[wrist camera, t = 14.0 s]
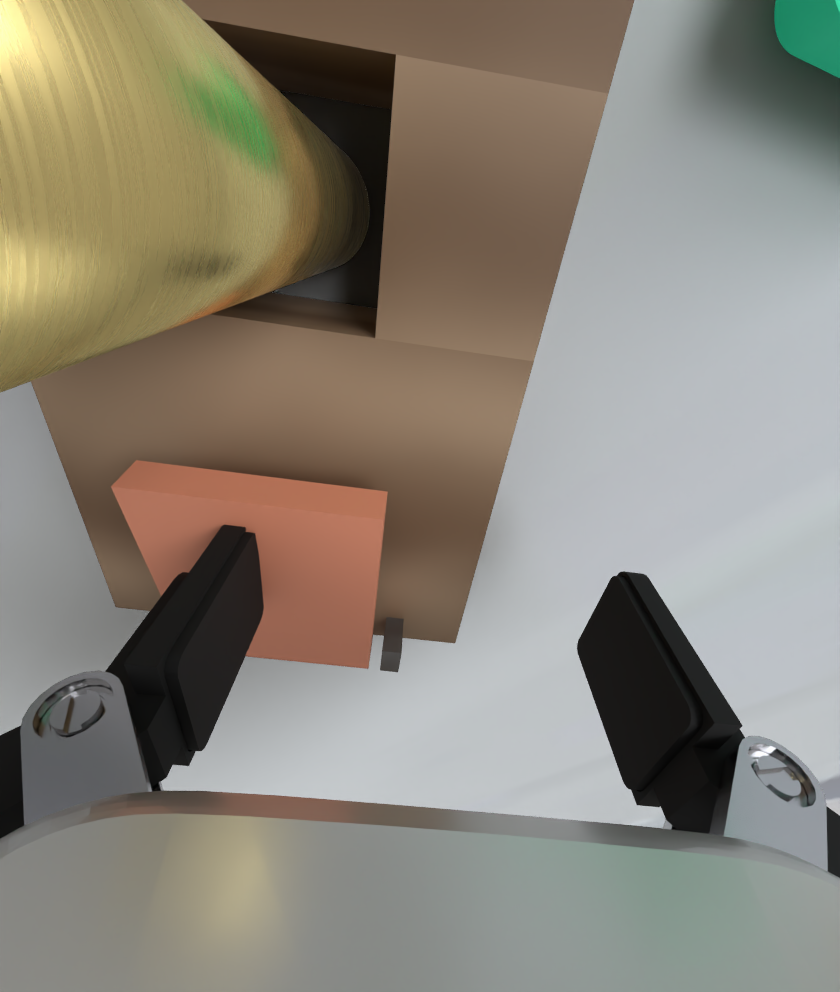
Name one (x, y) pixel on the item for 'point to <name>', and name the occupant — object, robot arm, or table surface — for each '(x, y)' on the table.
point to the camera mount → (810, 31)
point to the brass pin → (149, 181)
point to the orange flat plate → (271, 550)
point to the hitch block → (401, 300)
